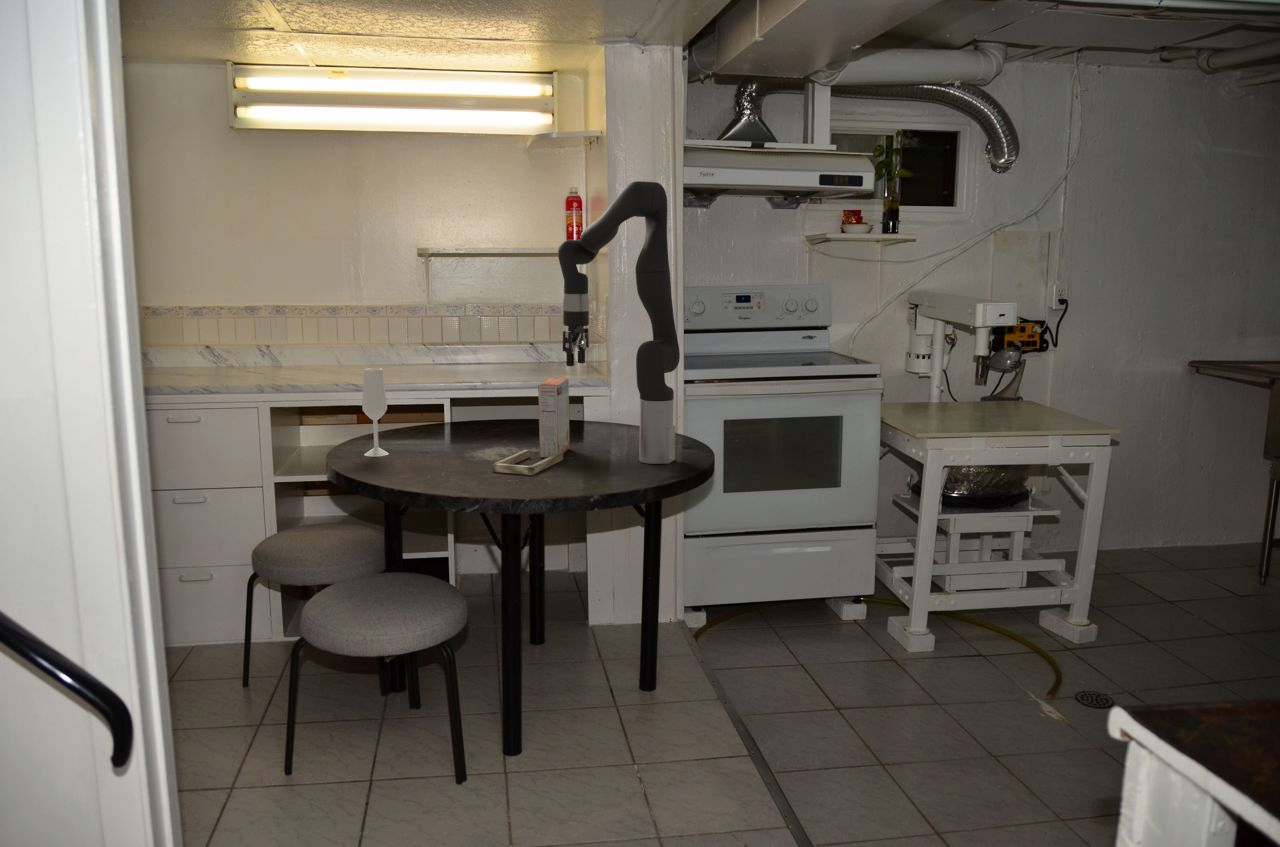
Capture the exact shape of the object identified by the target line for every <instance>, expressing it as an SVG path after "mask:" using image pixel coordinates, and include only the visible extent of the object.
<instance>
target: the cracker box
mask: <svg viewBox="0 0 1280 847" xmlns="http://www.w3.org/2000/svg"><path fill="white" fill-rule="evenodd" d="M569 386H570V384H569V377H564V378H563V377H549V378H548V379H546V380H545V381H543V382H541V383H539V384H538V385H537V389H538V392H537V393H538V427H539V428H538V430H539V434H538V435H539V438H538V439H539V440H538V441H539V458H541V459H546V458H548V457H550V456H552V455H555V454H557V453H559V452H560V453H563V455H564V454H565V453H567V451H568V450H569V449H570V399H569V397H570V394H569V393H570V392H569V391H570V389H569V388H570V387H569Z"/></svg>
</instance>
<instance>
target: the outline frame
mask: <svg viewBox="0 0 1280 847" xmlns="http://www.w3.org/2000/svg"><path fill="white" fill-rule="evenodd" d="M528 458H530V450H529V449H523V450H521V451H519V452H517V453H515V454H511V455H510V456H507V457H506V458H503V459H500V460H498V461H496V462H494V463H492V464H491V472H493V473H506V474H517V475H526V476H527V475H528V476H534V475H536V474H537V473H539V472H541V471H543V470H545V469H548V468H549V467H552V466H553V465H555V464H557V463H560V462H561V461H563V460H564V454H563V453H560V452H559V453H557V454H555V455H552V456H550V457H548V458H543V459H541V460H539V461H538V462H536V463H534V464H532V465H523V464H521V465H520V464H517V463H519V462H522V461H524V460H526V459H528Z"/></svg>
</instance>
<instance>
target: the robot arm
mask: <svg viewBox="0 0 1280 847" xmlns="http://www.w3.org/2000/svg"><path fill="white" fill-rule="evenodd" d="M634 217H637V218H644V220H645V238H644V243H643V246H642V248H641V250H640V253H639V255H638V257H637V261H636V263H635V281H636V282H635V283H636V290H637V294H638V296H639V300H640V301H641V304H642V305H643V308H644V309H645V311H646V313H647V315H648V317H649V320H650V324H651V330H652V340H648V341H644V342H643V343H641V344H640V345H639V347H638V349H637V352H636V357H635V360H636V361H635V362H636V364H635V367H636V369H635V370H636V387H637V390H638V393H639V433H638V434H639V436H638V437H639V439H638V440H639V441H638V442H639V446H638V447H639V449H638V450H639V451H638V455H639V456H638V458H639V459H638V460H639V462H640V463H644V464H651V465H652V464H653V465H654V464H655V465H657V464H659V465H660V464H661V465H663V464H670V463H672V462H673V461H675V460H676V426H675V425H674V406H675V405H674V403H675V402H674V399H675V398H674V397H675V395H674V393H675V391H674V388H672V387H671V386H668V385H667V384H666V379H665V378H666V376H665V374H668V373H671V372H673V371H676V369H677V368H678V366H679V364H680V359H681V355H680V354H681V353H680V346H679V340H678V335H677V331H676V330H677V329H676V325H675V318H674V307H673V298H672V285H671V284H672V282H671V270H670V262H669V247H668V197H667V192H666V189H665V188H664V186H663V185H662V184H661V183H660V182H655V181H638V180H637V181H633V182H631V183H628V184H627V186H625V187H624V188H623V189H622V191H620V193H619V194H618V196H617V197H616V198H614V200H613V202H611V204H610V205H609V206H608V207H607V209H606V210H605V211H604V212H603V213H602V215H601V216H599V217H598V218H597V219H596V220H595V221H593V222H592V223H591V224H589V225H588V226H587V227H586V228H585V229H584V230H582V231H581V234H580V236H579V238H580V239H565V240H563V241H562V242H560V245H559V247H558V250H557V257H558V258H557V259H558V262H559V265H560V269H561V273H562V274H561V275H562V277H563V302H562V304H563V305H562V313H563V314H562V315H563V316H562V318H563V319H562V322H563V326H565V327H567V330H563V332H562V352H564V353H565V355H566V356H565V358H566V360H565V361H566V363H565V364H566V365H565V366H567V367H574V366H575V350H576V348H577V363H578V364H585V363H586V351H587V349H589V346H590V343H589V338H590V336H589V335H590V334H589V328H588V327H587V326H589V324H590V323H589V322H590V300H589V299H590V298H589V278H588V275H587V274H586V273H583V272H580V271H579V270H578V267H577V266H578V265H580V266H581V265H587V264H589V263H591V262H593V261H594V259H595V258H596V257H597V255H598V254H599V252H600V250H601V249H603V248H604V247H605V246H606V245H608V244H609V243H610V242H612V241H613V239H614V238H615V237H616V236H617V234H618V232H619V228H620V226H621V225H622V224H623V223H624V222H626V221H627V220H629V219H631V218H634Z"/></svg>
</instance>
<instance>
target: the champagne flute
mask: <svg viewBox="0 0 1280 847" xmlns="http://www.w3.org/2000/svg"><path fill="white" fill-rule="evenodd" d="M363 371H364V374H363V391H362V408H361V409H362V412H364V413H363V414H365V415H366V416H367V417H368V418H369V419H370V420H372V423H373V425H372V426H373V448H372V449H370V450H368V451H367V452H365V453H364V456H366V457H384V456H388V455H389V452H387V451H386V450H384V449H382V448H380V447H379V427H378V426H379V425H378V424H379V423H378V420H379V419H381V418H382V417H383V416H384V415H385V413H387V410H388V404H387V396H386V388H385V380H384V373H383V368H380V367H369V368H364V370H363Z"/></svg>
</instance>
